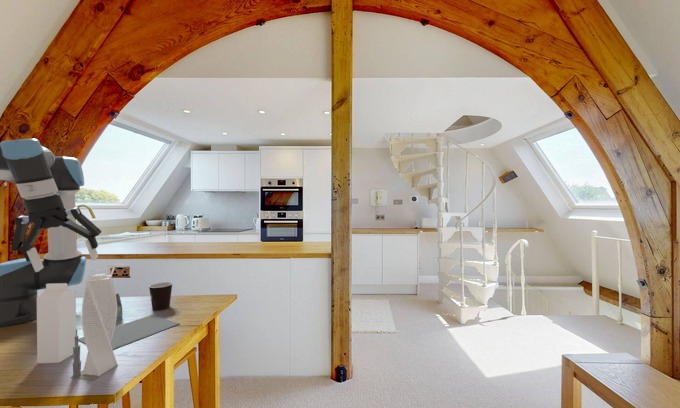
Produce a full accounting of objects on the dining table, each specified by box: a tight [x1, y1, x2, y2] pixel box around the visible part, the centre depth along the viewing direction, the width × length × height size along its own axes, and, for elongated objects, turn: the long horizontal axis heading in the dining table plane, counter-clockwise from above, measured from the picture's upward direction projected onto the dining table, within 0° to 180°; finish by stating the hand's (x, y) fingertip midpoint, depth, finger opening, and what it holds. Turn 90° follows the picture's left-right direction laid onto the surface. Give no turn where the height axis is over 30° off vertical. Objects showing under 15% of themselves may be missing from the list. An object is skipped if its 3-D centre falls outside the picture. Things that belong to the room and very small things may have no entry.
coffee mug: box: [148, 281, 173, 312], centre depth 129 cm, size 12×9×10 cm
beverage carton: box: [115, 293, 123, 322], centre depth 119 cm, size 8×19×7 cm, turn 40°
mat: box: [78, 314, 180, 350], centre depth 104 cm, size 18×24×1 cm
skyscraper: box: [70, 265, 118, 381], centre depth 80 cm, size 8×8×28 cm
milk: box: [36, 283, 77, 364], centre depth 87 cm, size 6×6×22 cm
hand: (68, 264), depth 88 cm, fingers open, 13 cm apart
